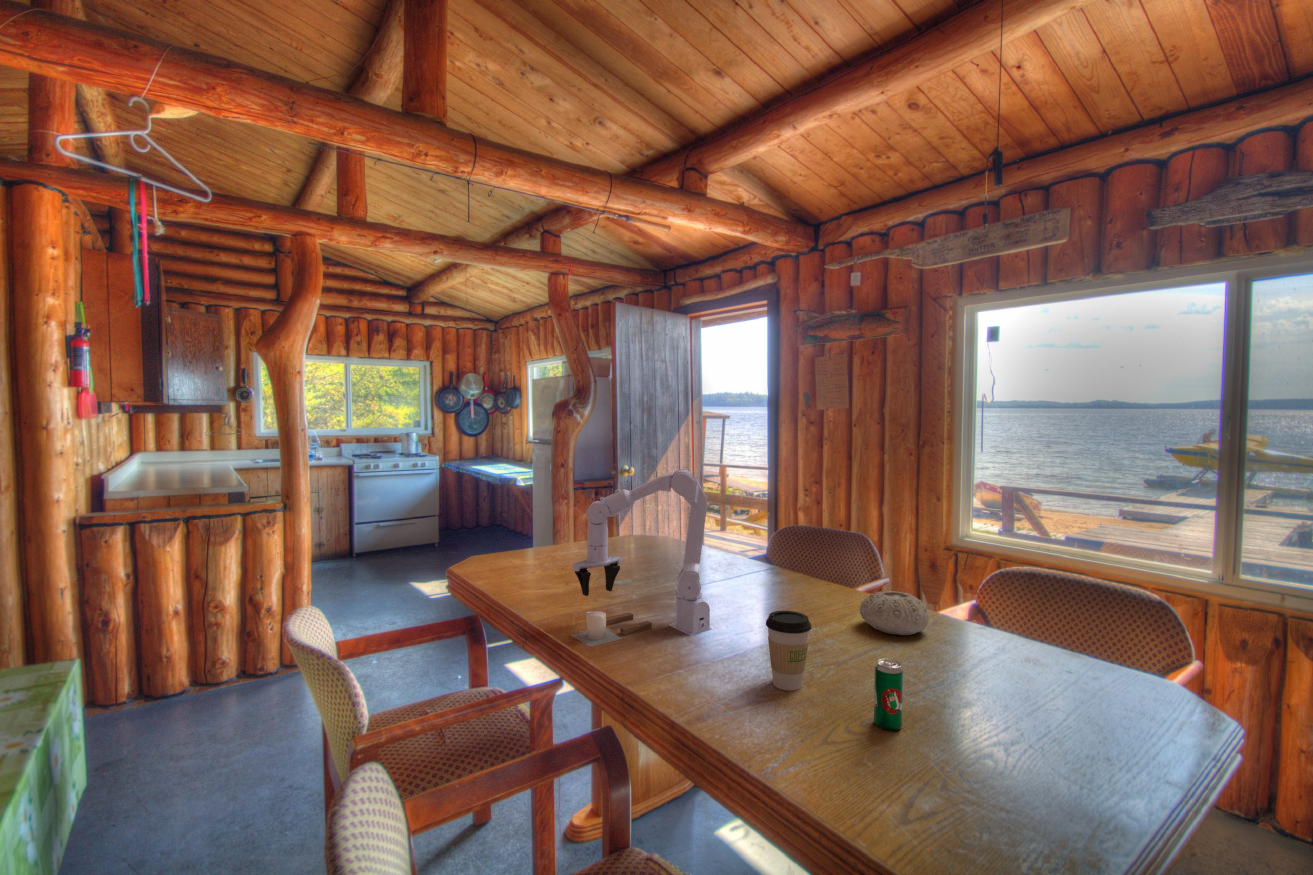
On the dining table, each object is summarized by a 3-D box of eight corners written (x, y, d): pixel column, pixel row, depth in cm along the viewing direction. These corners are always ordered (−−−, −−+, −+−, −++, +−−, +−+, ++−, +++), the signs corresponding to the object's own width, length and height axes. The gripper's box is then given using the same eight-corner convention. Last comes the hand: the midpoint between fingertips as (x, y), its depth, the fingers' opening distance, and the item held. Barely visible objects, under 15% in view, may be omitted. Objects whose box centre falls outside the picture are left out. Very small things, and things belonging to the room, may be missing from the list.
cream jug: (609, 637, 157) (609, 615, 156) (592, 641, 154) (592, 618, 154) (596, 629, 162) (596, 607, 162) (579, 633, 160) (580, 611, 160)
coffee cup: (815, 694, 126) (816, 624, 125) (768, 694, 126) (769, 624, 125) (804, 674, 135) (805, 609, 135) (761, 674, 136) (762, 609, 135)
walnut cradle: (651, 630, 164) (651, 622, 164) (624, 637, 158) (624, 629, 158) (629, 619, 172) (629, 612, 172) (602, 625, 167) (602, 618, 167)
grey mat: (622, 639, 156) (622, 638, 156) (589, 648, 150) (589, 646, 150) (602, 629, 164) (602, 627, 164) (570, 636, 158) (570, 635, 158)
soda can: (878, 715, 117) (880, 655, 117) (905, 724, 114) (906, 662, 113) (869, 725, 113) (870, 663, 113) (897, 734, 110) (898, 670, 109)
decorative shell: (862, 637, 159) (863, 600, 159) (856, 616, 177) (857, 583, 176) (934, 643, 155) (935, 605, 155) (921, 621, 172) (922, 587, 172)
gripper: (611, 539, 173) (611, 585, 174) (567, 545, 165) (567, 593, 165) (625, 543, 168) (625, 590, 168) (580, 549, 159) (580, 599, 159)
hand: (597, 592), depth 166 cm, fingers open, 7 cm apart
